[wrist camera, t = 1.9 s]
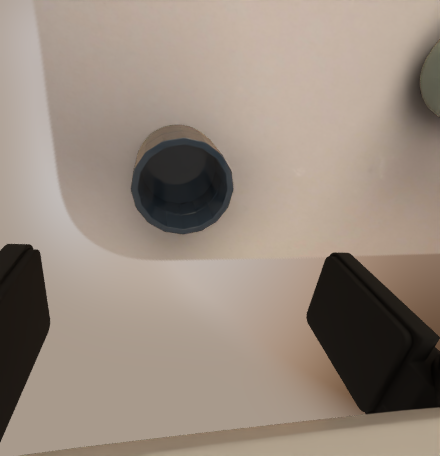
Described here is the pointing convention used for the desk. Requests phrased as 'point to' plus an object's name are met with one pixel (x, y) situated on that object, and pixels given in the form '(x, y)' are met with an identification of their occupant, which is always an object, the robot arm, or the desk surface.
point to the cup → (431, 80)
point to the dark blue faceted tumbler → (181, 180)
